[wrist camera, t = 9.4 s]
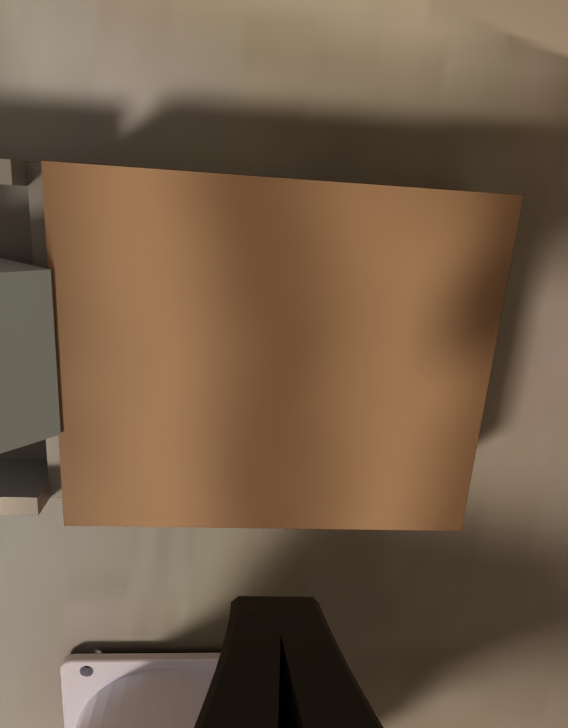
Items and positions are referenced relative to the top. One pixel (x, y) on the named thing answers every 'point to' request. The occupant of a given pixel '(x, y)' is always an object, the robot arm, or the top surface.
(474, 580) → the top surface
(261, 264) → the walnut plate
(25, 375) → the tile slate
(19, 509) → the bin
